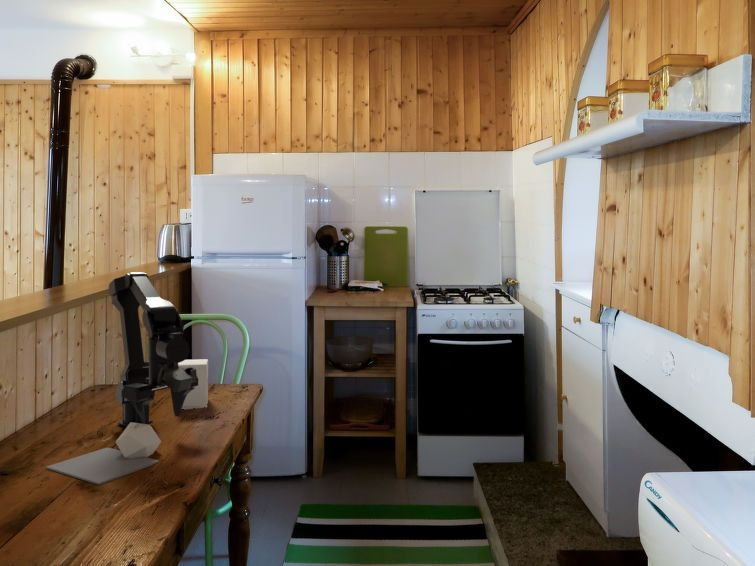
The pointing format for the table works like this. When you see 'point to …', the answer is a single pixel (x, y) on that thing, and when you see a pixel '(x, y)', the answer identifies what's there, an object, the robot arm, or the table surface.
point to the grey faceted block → (138, 441)
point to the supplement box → (200, 392)
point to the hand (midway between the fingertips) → (162, 420)
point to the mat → (101, 466)
